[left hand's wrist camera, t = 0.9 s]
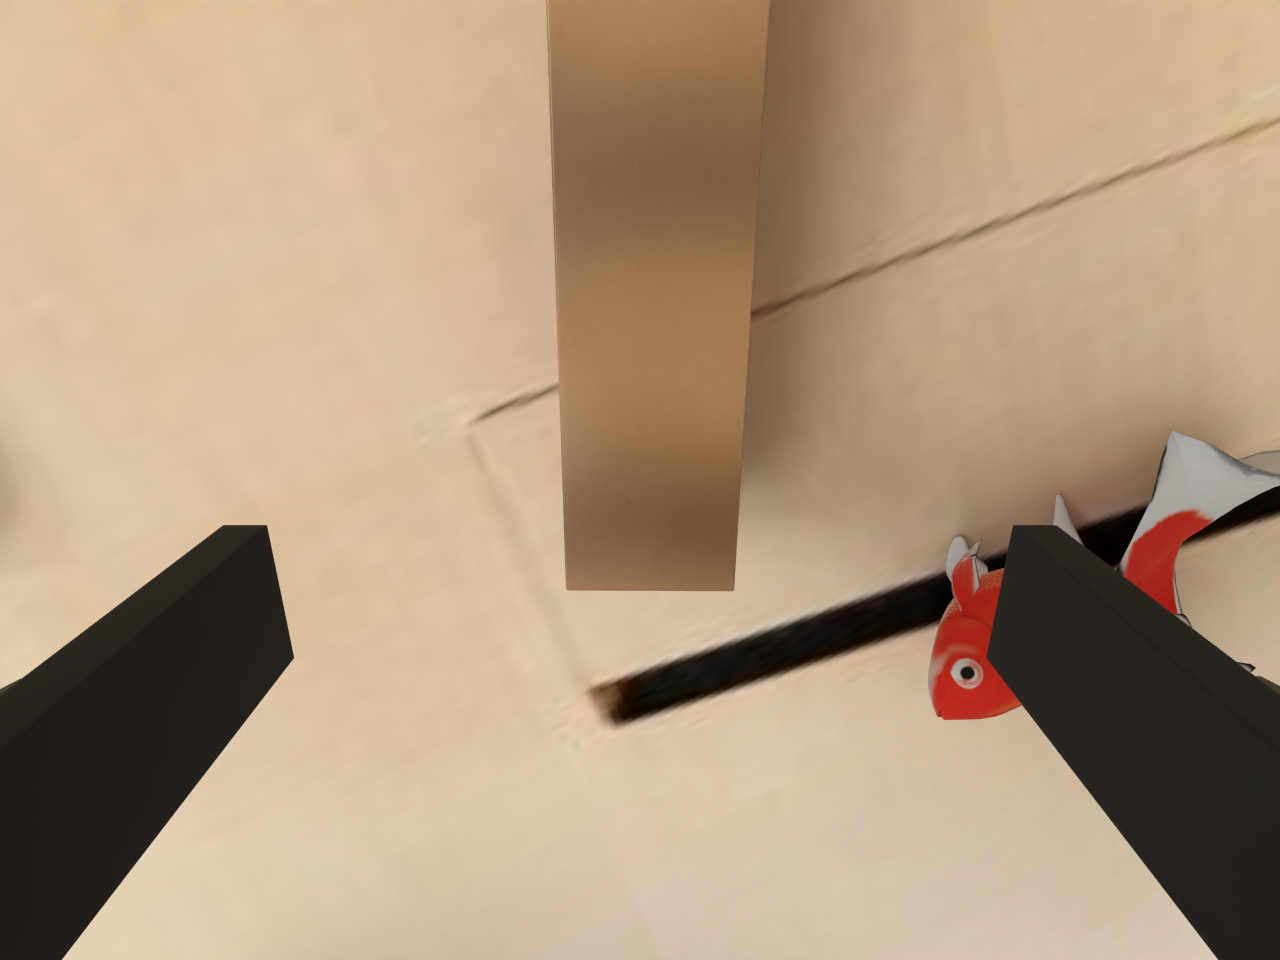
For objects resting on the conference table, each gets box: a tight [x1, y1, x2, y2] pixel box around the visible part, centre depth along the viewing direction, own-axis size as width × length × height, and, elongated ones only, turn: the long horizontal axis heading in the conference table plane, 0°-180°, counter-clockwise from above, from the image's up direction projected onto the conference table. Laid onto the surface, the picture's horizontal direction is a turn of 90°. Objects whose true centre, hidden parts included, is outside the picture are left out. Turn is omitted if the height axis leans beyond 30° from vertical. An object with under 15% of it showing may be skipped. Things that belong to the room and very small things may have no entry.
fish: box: [928, 431, 1280, 720], centre depth 26 cm, size 11×16×10 cm
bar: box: [546, 0, 770, 591], centre depth 21 cm, size 24×5×8 cm, turn 0°
